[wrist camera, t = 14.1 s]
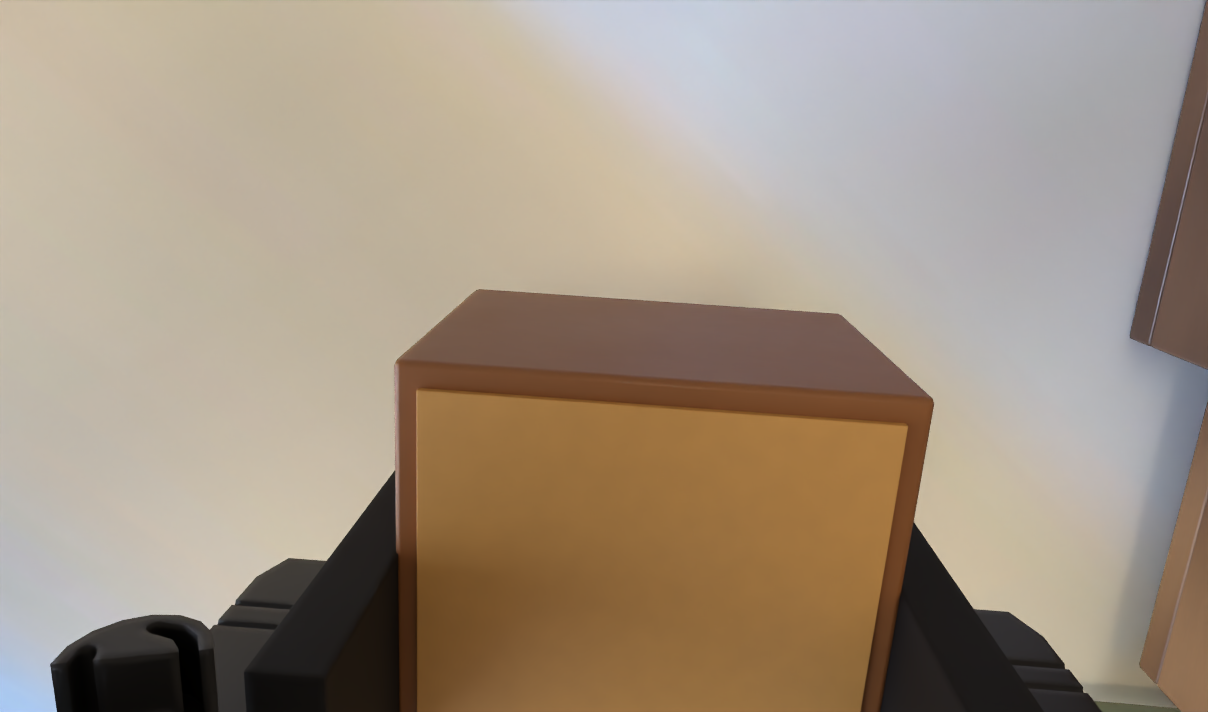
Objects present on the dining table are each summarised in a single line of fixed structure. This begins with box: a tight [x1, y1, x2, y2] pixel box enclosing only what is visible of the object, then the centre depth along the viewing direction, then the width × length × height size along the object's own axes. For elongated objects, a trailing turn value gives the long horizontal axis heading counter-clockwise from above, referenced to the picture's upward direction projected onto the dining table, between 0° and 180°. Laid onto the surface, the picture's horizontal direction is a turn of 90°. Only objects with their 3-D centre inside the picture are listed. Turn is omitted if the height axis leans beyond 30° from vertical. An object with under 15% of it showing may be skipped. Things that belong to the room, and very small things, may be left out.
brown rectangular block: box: [394, 289, 934, 712], centre depth 12 cm, size 8×6×5 cm
